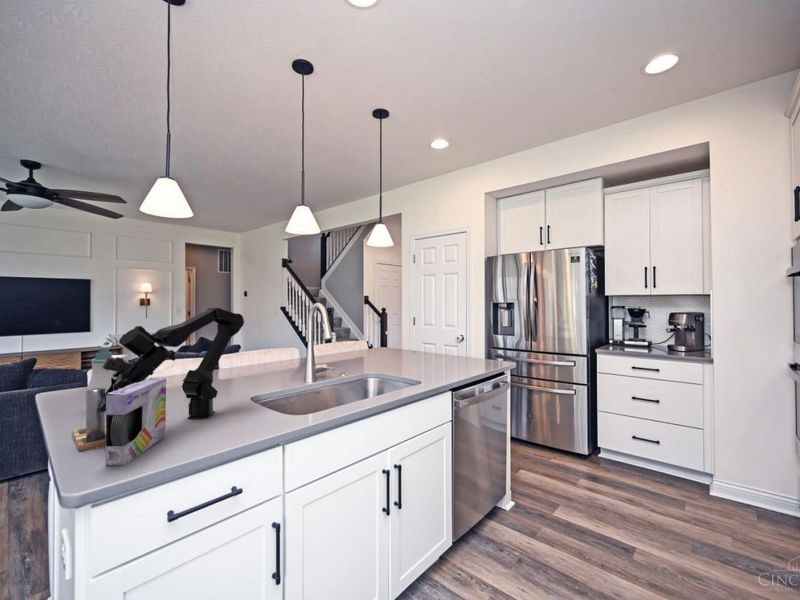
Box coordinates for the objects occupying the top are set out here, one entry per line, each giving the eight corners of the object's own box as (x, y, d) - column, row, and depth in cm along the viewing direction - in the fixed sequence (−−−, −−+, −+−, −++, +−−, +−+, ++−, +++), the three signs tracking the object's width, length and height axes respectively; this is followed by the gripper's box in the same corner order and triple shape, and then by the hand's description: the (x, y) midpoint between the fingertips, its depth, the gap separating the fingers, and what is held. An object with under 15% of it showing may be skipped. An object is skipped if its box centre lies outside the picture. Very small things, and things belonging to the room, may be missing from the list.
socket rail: (114, 443, 100) (114, 438, 101) (78, 451, 95) (78, 446, 95) (104, 428, 113) (104, 423, 113) (72, 434, 108) (72, 429, 108)
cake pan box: (122, 467, 86) (122, 393, 86) (99, 468, 85) (99, 393, 86) (167, 437, 105) (167, 376, 105) (149, 438, 105) (149, 377, 105)
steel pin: (108, 440, 103) (108, 387, 103) (99, 445, 99) (99, 390, 99) (92, 441, 102) (92, 388, 102) (82, 447, 98) (82, 391, 98)
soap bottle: (80, 412, 130) (79, 348, 130) (110, 405, 139) (110, 345, 139) (96, 415, 126) (96, 350, 126) (126, 407, 135) (126, 346, 135)
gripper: (121, 343, 112) (73, 384, 105) (126, 349, 98) (71, 397, 91) (152, 365, 117) (108, 406, 110) (161, 374, 103) (111, 421, 96)
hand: (100, 407), depth 101 cm, fingers open, 9 cm apart
